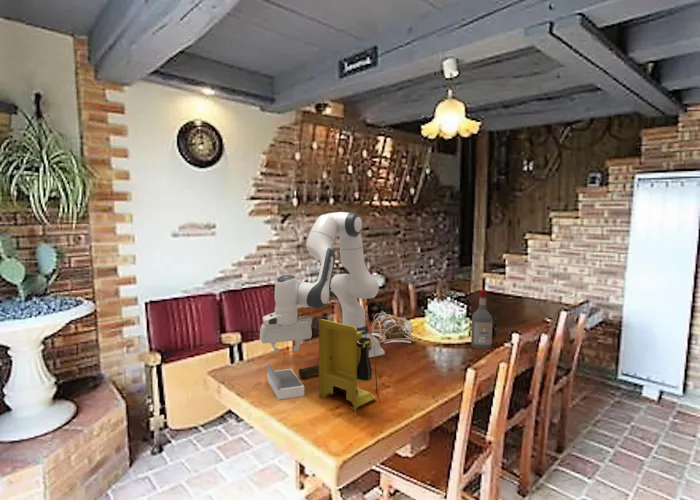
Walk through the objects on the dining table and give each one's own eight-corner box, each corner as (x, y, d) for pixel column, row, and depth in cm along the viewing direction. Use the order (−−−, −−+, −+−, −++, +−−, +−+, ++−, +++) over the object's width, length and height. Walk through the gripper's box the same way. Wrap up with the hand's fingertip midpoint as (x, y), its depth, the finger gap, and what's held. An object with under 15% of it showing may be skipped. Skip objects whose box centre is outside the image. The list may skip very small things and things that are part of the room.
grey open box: (291, 377, 185) (291, 361, 184) (304, 396, 166) (304, 378, 166) (267, 380, 181) (267, 364, 181) (278, 400, 163) (277, 382, 162)
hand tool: (302, 380, 182) (303, 369, 181) (297, 376, 185) (298, 365, 184) (340, 371, 193) (341, 361, 192) (335, 367, 196) (336, 358, 195)
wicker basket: (359, 346, 236) (359, 318, 233) (383, 325, 267) (384, 299, 264) (408, 356, 224) (409, 326, 221) (428, 332, 255) (429, 306, 252)
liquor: (492, 350, 225) (494, 292, 222) (474, 350, 225) (476, 292, 222) (487, 345, 234) (489, 289, 231) (470, 344, 234) (471, 288, 232)
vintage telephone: (396, 406, 159) (398, 324, 156) (372, 419, 148) (373, 332, 146) (334, 383, 180) (334, 310, 177) (309, 393, 169) (309, 316, 167)
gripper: (309, 313, 178) (309, 346, 180) (258, 317, 171) (259, 352, 172) (314, 316, 173) (313, 351, 174) (261, 321, 165) (262, 357, 166)
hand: (286, 351), depth 173 cm, fingers open, 7 cm apart
